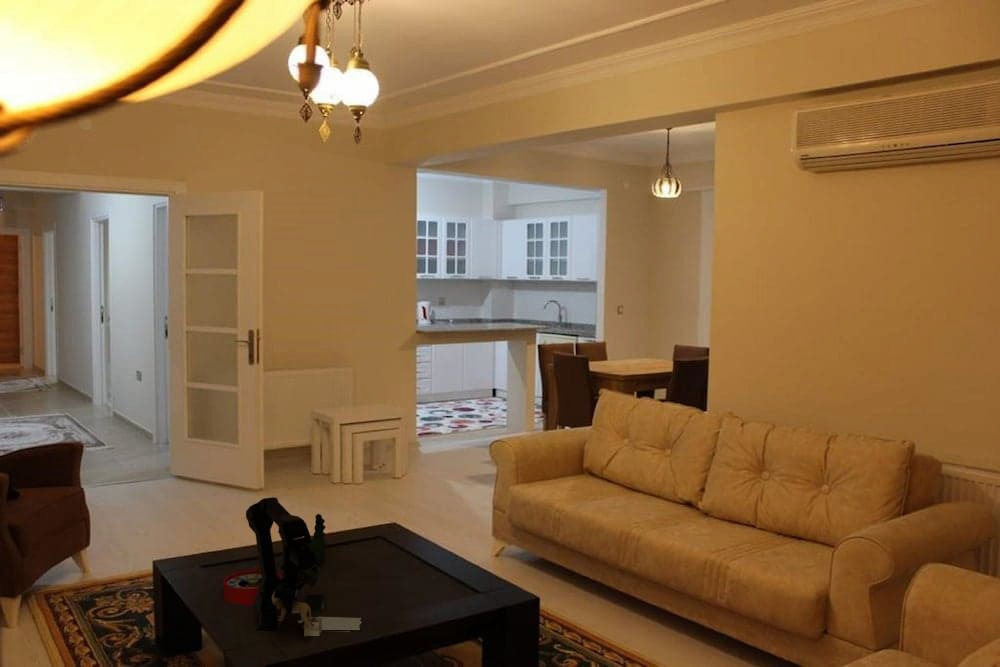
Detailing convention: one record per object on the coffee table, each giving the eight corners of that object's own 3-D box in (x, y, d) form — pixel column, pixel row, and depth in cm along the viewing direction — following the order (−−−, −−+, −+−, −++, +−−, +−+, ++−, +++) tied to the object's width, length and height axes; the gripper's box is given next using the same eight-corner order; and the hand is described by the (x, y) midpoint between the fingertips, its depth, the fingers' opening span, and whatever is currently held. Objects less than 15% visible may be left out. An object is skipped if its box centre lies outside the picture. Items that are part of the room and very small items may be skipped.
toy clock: (256, 593, 290) (210, 582, 298) (255, 610, 290) (210, 599, 299) (294, 575, 308) (250, 566, 316) (294, 591, 308) (250, 582, 317)
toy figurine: (307, 558, 350) (294, 573, 325) (309, 511, 351) (296, 522, 326) (330, 558, 350) (319, 573, 325) (332, 512, 351) (321, 523, 326)
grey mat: (318, 618, 284) (318, 616, 284) (366, 619, 284) (366, 618, 284) (311, 630, 274) (311, 628, 274) (361, 631, 274) (361, 630, 274)
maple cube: (307, 630, 274) (307, 616, 274) (321, 631, 274) (321, 616, 274) (304, 636, 269) (304, 621, 269) (318, 637, 269) (318, 622, 269)
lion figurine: (264, 619, 259) (273, 590, 259) (267, 613, 264) (275, 584, 264) (312, 630, 260) (320, 602, 261) (314, 624, 266) (322, 596, 266)
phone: (326, 594, 304) (323, 610, 289) (326, 597, 304) (323, 613, 289) (303, 594, 303) (299, 610, 288) (303, 597, 303) (299, 614, 288)
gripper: (312, 571, 252) (311, 623, 253) (325, 551, 271) (324, 600, 272) (274, 570, 252) (273, 622, 253) (289, 550, 271) (288, 599, 272)
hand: (291, 611), depth 262 cm, fingers closed on lion figurine, 4 cm apart
